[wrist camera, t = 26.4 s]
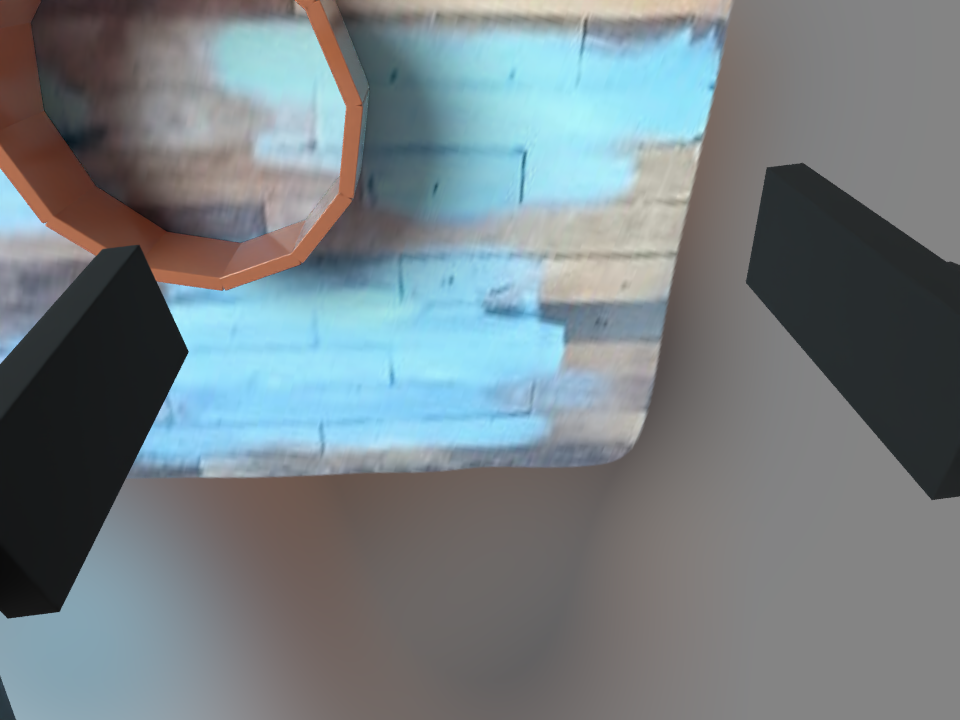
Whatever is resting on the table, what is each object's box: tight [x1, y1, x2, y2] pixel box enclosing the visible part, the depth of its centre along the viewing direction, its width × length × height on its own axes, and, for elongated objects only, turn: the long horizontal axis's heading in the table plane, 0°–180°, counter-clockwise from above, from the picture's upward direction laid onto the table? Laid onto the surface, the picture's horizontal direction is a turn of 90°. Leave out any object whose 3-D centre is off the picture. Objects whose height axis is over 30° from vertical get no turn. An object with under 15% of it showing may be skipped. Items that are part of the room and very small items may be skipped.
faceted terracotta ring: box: [0, 0, 370, 291], centre depth 32 cm, size 18×18×5 cm
